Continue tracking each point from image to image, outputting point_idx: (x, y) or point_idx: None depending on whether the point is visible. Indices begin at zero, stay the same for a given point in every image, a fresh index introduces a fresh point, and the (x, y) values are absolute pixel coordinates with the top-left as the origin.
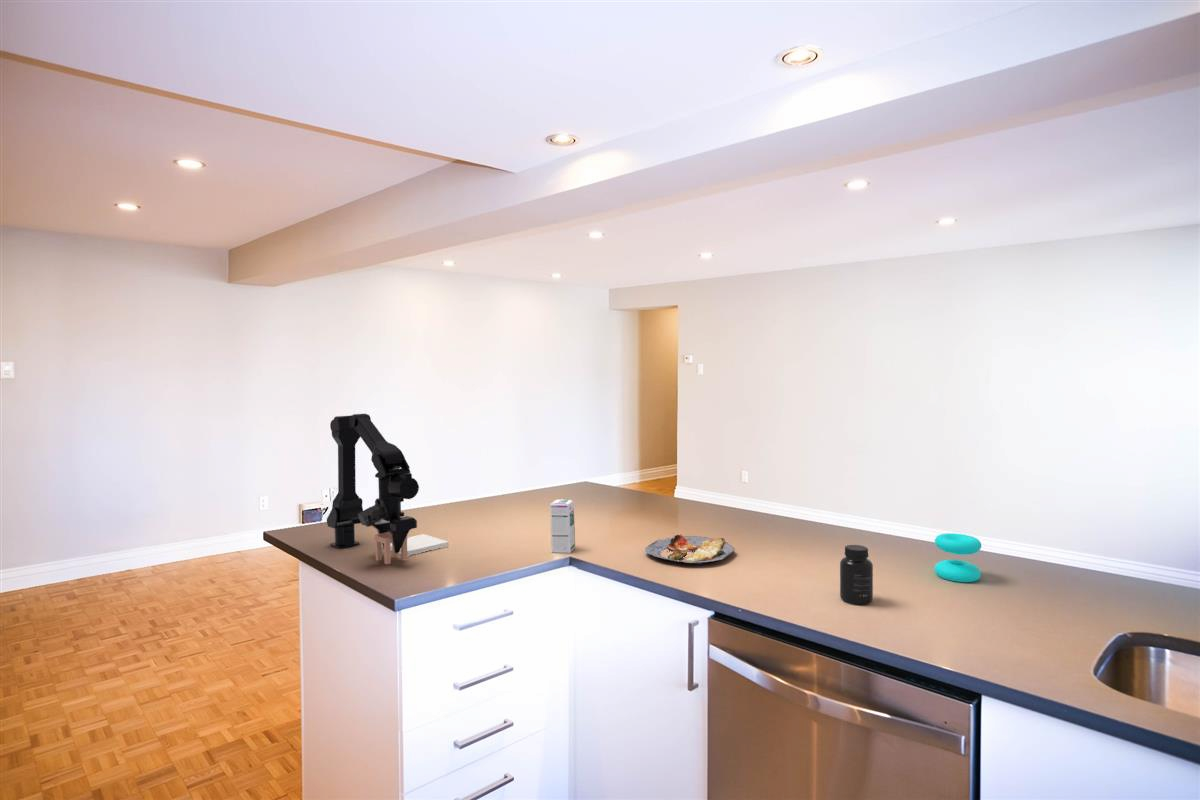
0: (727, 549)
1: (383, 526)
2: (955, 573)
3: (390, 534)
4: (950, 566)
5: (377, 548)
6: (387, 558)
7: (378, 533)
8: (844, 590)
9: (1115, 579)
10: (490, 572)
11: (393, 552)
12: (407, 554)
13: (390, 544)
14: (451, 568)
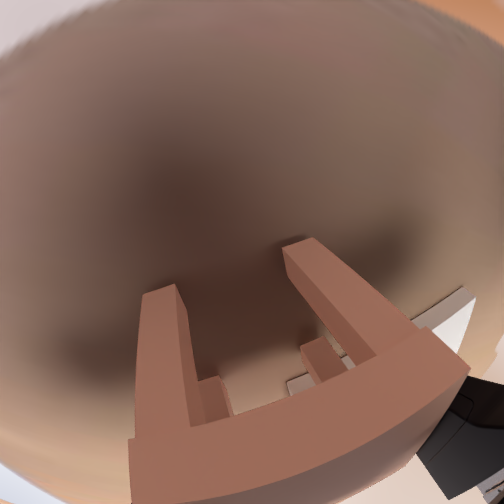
0: None
1: (475, 462)
2: None
3: (328, 493)
4: None
5: (329, 301)
6: (142, 328)
7: (474, 378)
8: None
9: None
10: (18, 469)
11: (321, 357)
12: (291, 393)
13: (445, 327)
14: (48, 451)
